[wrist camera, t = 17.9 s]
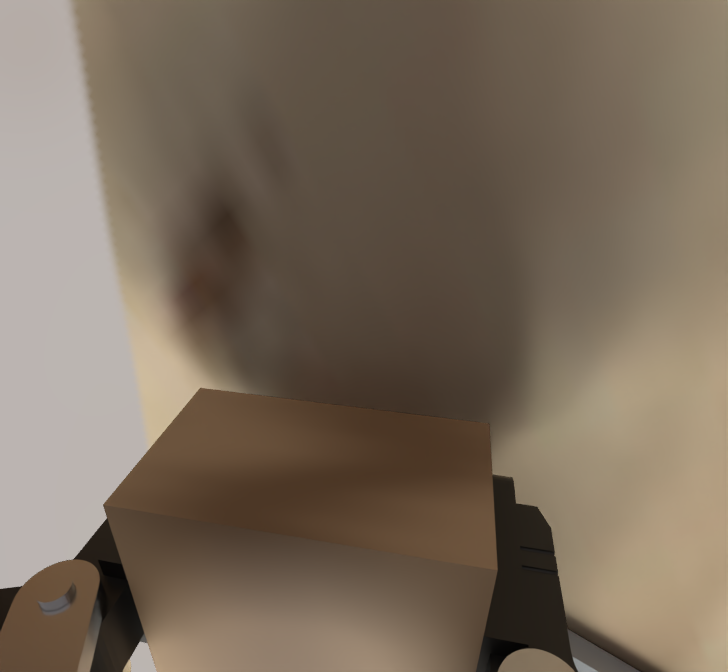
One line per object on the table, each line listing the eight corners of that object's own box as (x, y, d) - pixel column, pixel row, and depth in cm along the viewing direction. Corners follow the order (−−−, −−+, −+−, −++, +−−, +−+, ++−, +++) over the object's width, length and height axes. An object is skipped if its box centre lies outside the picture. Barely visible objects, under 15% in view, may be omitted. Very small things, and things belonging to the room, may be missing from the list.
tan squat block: (489, 423, 9) (497, 570, 6) (457, 614, 12) (453, 773, 9) (200, 387, 10) (103, 504, 7) (231, 572, 12) (168, 707, 10)
